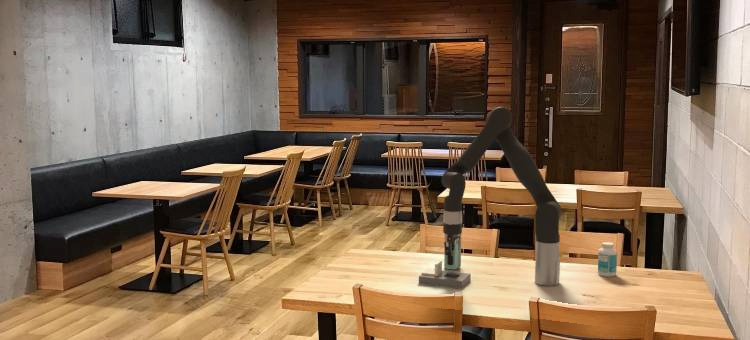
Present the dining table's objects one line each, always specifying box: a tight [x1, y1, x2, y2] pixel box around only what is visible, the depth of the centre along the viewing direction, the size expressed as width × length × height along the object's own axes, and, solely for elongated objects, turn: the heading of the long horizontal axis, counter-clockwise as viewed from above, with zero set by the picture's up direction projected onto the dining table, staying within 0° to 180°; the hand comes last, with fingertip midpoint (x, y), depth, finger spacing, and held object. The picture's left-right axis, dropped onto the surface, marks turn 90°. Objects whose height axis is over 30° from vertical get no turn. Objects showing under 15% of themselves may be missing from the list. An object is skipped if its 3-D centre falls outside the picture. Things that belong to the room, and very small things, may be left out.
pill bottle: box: [597, 241, 618, 278], centre depth 310 cm, size 8×7×14 cm
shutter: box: [421, 260, 443, 276], centre depth 302 cm, size 6×7×5 cm
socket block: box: [418, 270, 471, 290], centre depth 300 cm, size 18×12×3 cm, turn 67°
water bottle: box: [443, 233, 462, 271], centre depth 321 cm, size 9×8×25 cm
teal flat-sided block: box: [444, 243, 458, 270], centre depth 298 cm, size 4×4×10 cm
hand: (451, 263), depth 298 cm, fingers closed on teal flat-sided block, 4 cm apart
